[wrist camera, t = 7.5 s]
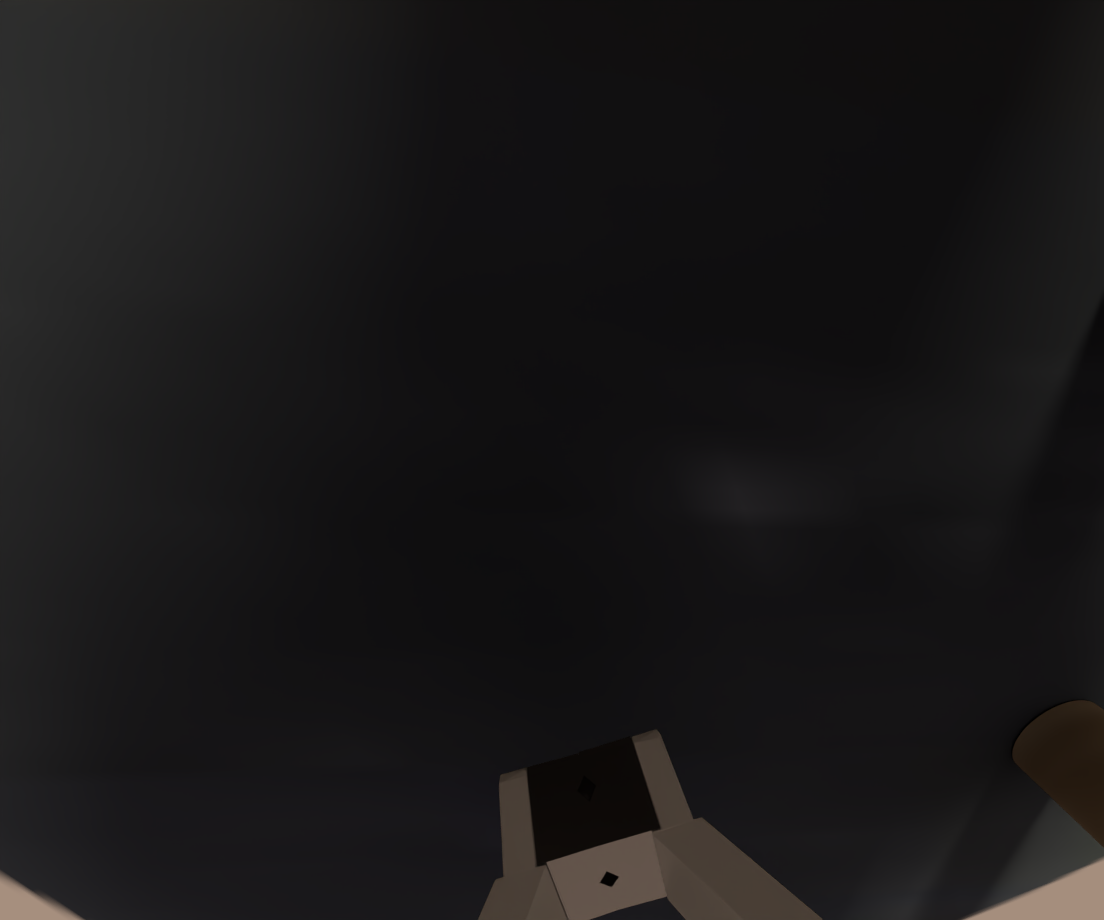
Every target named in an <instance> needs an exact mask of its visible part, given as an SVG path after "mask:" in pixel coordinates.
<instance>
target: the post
mask: <svg viewBox="0 0 1104 920" xmlns="http://www.w3.org/2000/svg"><path fill="white" fill-rule="evenodd" d="M1012 757H1013V760H1014V762H1015V763H1016V764H1017V765H1018V766H1019V767H1020V768H1021V769H1022V770H1023V771H1024V772H1025V773H1026V774H1027V775H1028V776H1029V777H1030V778H1031V779H1032V780H1033V781H1034V782H1035V783H1037V784H1038V785H1039V786H1040V787H1041V788H1042V789H1043V790H1044V791H1045V792H1046V793H1047V794H1048V795H1049V796H1050V797H1051V798H1052V799H1053V800H1054V801H1055V802H1056V803H1057V804H1059V805H1060V806H1061V807H1062V808H1063V809H1064V810H1065V811H1066V812H1067V813H1068V814H1069V815H1070V816H1071V817H1072V818H1073V819H1074V820H1075V821H1076V822H1077V823H1078V824H1080V825H1081V826H1082V827H1083V828H1084V829H1085V830H1086V831H1087V832H1088V833H1089V834H1090V835H1091V836H1092V837H1093V838H1094V839H1095V840H1096V841H1097V842H1098V843H1099V844H1101V845H1102V846H1103V847H1104V710H1103V709H1102V708H1101V707H1099V706H1098V705H1096V704H1095V703H1093V702H1091V701H1086V700H1077V701H1071V702H1067V703H1064V704H1061V705H1058V706H1056V707H1054V708H1052V709H1050V710H1048V711H1046V712H1045V713H1043V714H1042V715H1040V716H1039V717H1037V718H1036V719H1035V720H1034V721H1032V722H1031V723H1030V724H1029V725H1028V726H1027V727H1026V728H1025V729H1024V730H1023V731H1022V733H1021V734H1020V735H1019V737H1018V738H1017V740H1016V742H1015V744H1014V747H1013V752H1012Z"/></svg>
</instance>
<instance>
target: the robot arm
mask: <svg viewBox="0 0 1104 920" xmlns="http://www.w3.org/2000/svg"><path fill="white" fill-rule="evenodd" d="M499 799H500V818H501V838H502V857H503V877H501V878H499V879H496V880H495V881H494V883H493V886H492V888H491V890H490V893H489V895H488V897H487V900H486V902H485V904H484V907H483V909H482V911H481V913H480V916H479V918H478V920H590V919H593V918H596V917H599V916H602V915H605V914H607V913H610V912H613V911H616V910H619V909H623V908H627V907H630V906H634V905H638V904H641V903H645V902H649V901H652V900H656V899H659V898H663V897H668V900H669V901H670V902H671V904H672V905H673V906H674V907H675V908H676V909H677V910H678V912H679V913H680V914H681V915H682V916H683V917H684V918H685V920H823V919H822V918H821V917H819V916H818V915H817V914H816V913H815V912H814V911H812V910H811V909H810V908H809V907H808V906H806V905H805V904H804V903H803V902H802V901H800V900H799V899H798V898H797V897H796V896H795V895H793V894H792V893H791V892H790V891H789V890H787V889H786V888H785V887H784V886H783V885H782V884H780V883H779V882H778V881H777V880H776V879H774V878H773V877H772V876H771V875H770V874H768V873H767V872H766V871H765V870H764V869H763V868H761V867H760V866H759V865H758V864H757V863H755V862H754V861H753V860H752V859H751V858H750V857H748V856H747V855H746V854H745V853H744V852H742V851H741V850H740V849H739V848H738V847H736V846H735V845H734V844H733V843H732V842H731V841H729V840H728V839H727V838H726V837H725V836H723V835H722V834H721V833H720V832H719V831H718V830H716V829H715V828H714V827H713V826H712V825H710V824H709V823H708V822H707V821H706V820H704V819H703V818H702V817H701V818H697V819H693V817H692V814H691V812H690V809H689V806H688V804H687V801H686V799H685V796H684V794H683V791H682V788H681V786H680V783H679V781H678V778H677V776H676V773H675V770H674V768H673V765H672V763H671V760H670V758H669V755H668V752H667V750H666V747H665V745H664V742H663V740H662V737H661V734H660V733H659V732H658V731H657V729H655V730H652V731H648V732H645V733H642V734H639V735H636V736H633V737H631V738H630V736H629V737H626V738H623V739H619V740H616V741H613V742H610V743H607V744H603V745H600V746H597V747H594V748H591V749H587V750H584V751H581V752H579V753H578V754H574V755H570V756H567V757H563V758H559V759H556V760H552V761H548V762H545V763H541V764H537V765H534V766H530V767H525V768H522V769H518V770H515V771H512V772H508V773H505V774H501V775H500V781H499Z"/></svg>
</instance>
